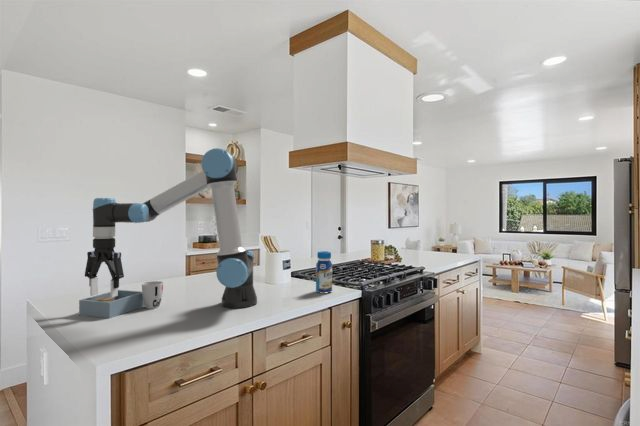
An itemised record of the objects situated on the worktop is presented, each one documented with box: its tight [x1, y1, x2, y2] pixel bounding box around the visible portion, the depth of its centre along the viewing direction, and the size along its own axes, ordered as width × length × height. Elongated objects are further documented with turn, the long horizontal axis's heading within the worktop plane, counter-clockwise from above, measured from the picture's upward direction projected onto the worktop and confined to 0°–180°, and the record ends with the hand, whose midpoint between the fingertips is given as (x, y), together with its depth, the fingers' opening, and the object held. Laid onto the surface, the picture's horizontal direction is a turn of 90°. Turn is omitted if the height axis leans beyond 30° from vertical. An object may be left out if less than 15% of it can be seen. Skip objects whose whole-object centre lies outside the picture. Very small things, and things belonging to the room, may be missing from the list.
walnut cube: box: [93, 297, 115, 302], centre depth 141 cm, size 5×5×5 cm
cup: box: [141, 280, 164, 310], centre depth 151 cm, size 8×8×10 cm
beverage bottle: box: [315, 250, 334, 294], centre depth 181 cm, size 8×8×20 cm
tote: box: [78, 289, 145, 319], centre depth 146 cm, size 14×19×6 cm
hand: (104, 295), depth 141 cm, fingers open, 9 cm apart
